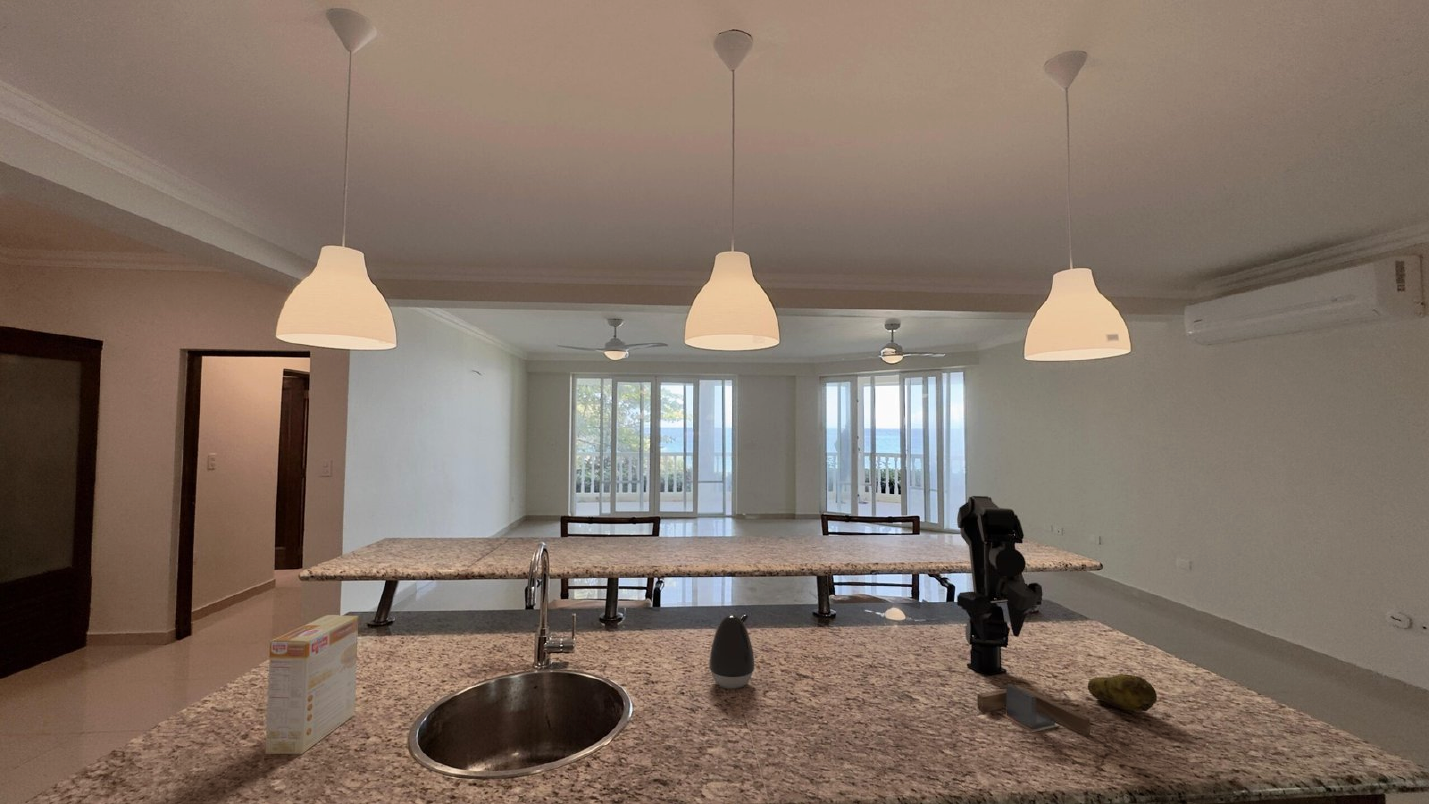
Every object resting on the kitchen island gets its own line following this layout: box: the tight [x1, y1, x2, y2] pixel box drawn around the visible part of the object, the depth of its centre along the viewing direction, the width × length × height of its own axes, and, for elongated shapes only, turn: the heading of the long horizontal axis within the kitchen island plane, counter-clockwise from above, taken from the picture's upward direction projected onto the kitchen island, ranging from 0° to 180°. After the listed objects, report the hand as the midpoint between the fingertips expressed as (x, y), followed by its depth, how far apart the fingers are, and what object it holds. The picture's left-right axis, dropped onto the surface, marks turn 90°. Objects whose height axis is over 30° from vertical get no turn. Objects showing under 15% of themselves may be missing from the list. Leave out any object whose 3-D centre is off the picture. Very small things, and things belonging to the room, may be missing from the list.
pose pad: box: [1002, 713, 1060, 733], centre depth 117 cm, size 7×7×1 cm
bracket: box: [1005, 683, 1056, 730], centre depth 117 cm, size 6×6×6 cm
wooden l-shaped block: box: [976, 684, 1091, 737], centre depth 117 cm, size 12×16×3 cm
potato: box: [1087, 673, 1158, 712], centre depth 122 cm, size 8×13×8 cm, turn 0°
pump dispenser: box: [708, 614, 755, 690], centre depth 134 cm, size 10×10×15 cm
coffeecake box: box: [264, 614, 359, 755], centre depth 111 cm, size 15×7×20 cm, turn 178°
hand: (1000, 638), depth 129 cm, fingers open, 9 cm apart
